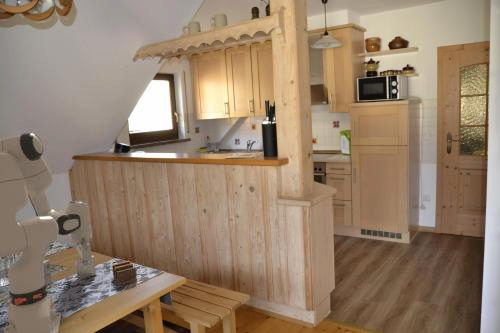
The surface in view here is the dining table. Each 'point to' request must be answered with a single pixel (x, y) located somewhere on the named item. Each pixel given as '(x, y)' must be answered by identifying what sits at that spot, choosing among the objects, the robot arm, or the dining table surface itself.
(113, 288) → the dining table surface
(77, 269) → the aluminium panel
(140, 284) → the dining table surface
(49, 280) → the light bulb box
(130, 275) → the walnut rack
